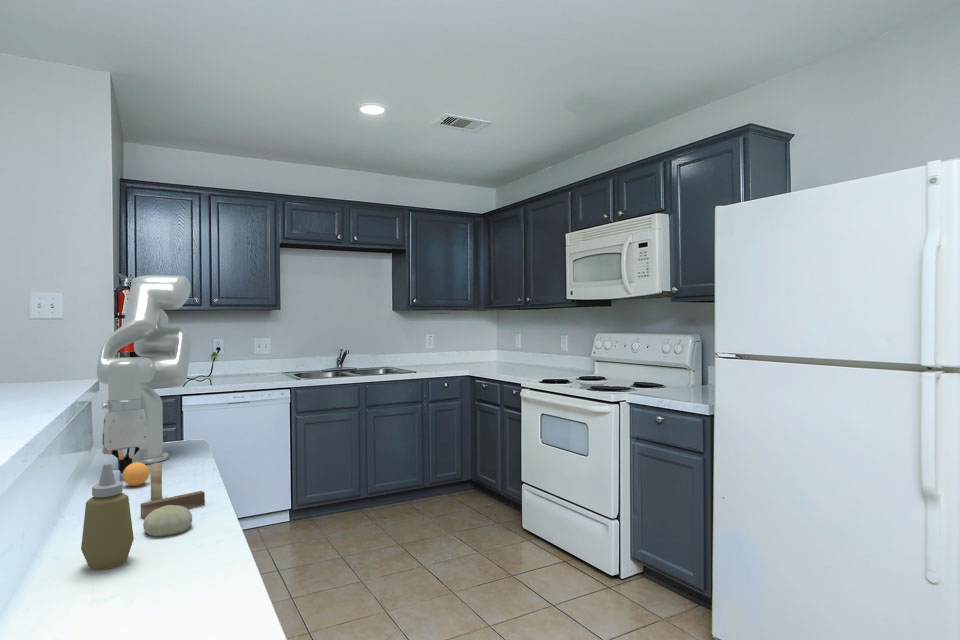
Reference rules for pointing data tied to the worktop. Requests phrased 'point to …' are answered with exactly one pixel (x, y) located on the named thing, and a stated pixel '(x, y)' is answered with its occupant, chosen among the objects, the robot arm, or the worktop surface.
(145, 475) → the ball
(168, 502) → the back wall
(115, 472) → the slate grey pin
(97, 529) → the squeeze bottle
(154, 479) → the maple pin
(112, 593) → the worktop surface
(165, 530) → the sea urchin shell
